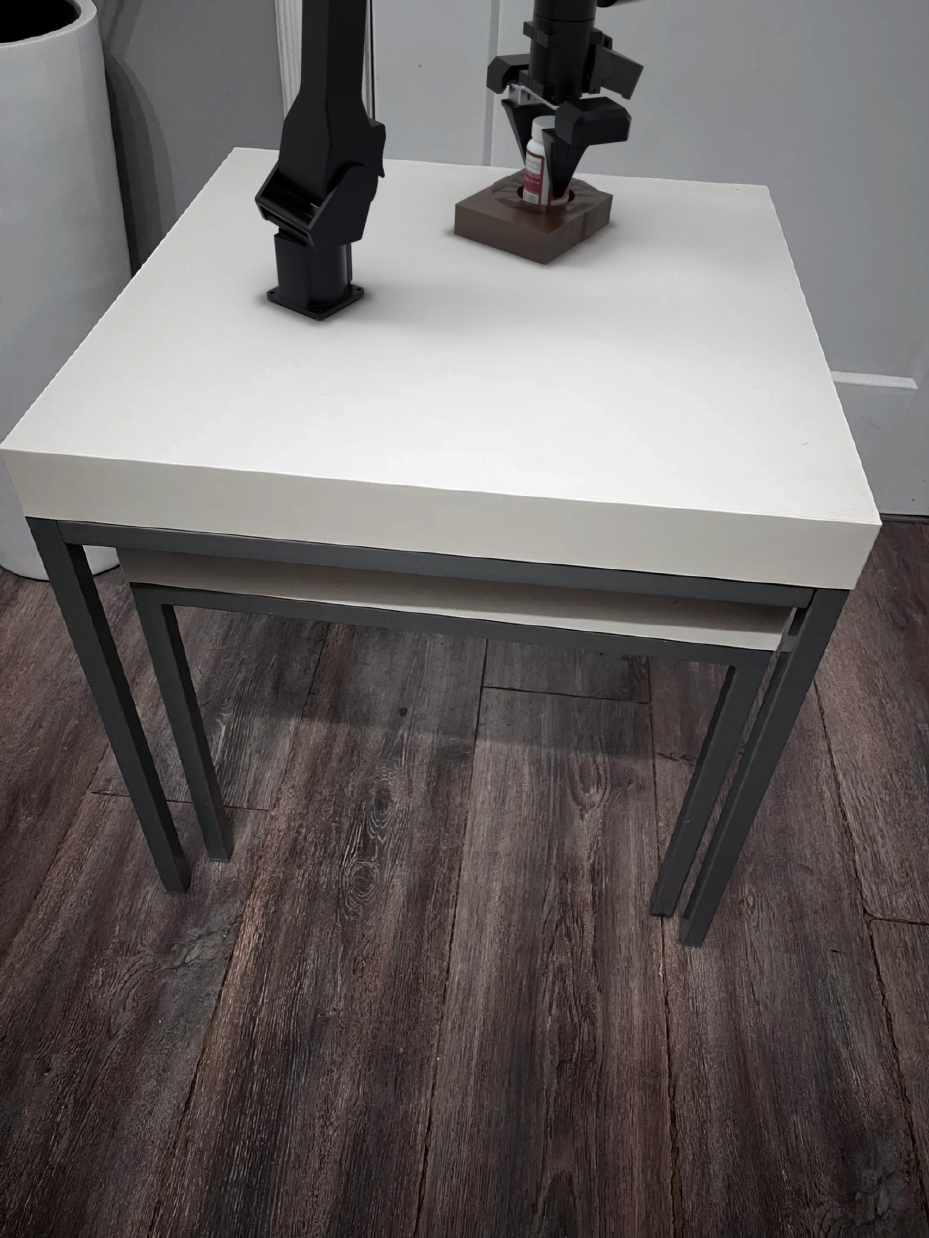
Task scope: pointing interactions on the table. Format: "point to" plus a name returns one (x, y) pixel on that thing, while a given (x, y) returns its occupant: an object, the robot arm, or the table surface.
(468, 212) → the brown block with hole
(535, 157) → the pill bottle
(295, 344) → the table surface
